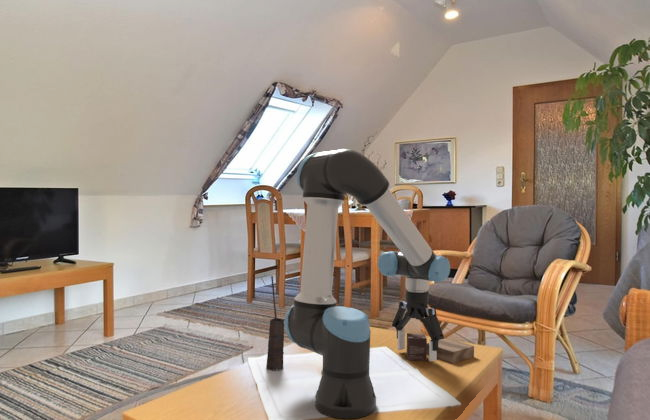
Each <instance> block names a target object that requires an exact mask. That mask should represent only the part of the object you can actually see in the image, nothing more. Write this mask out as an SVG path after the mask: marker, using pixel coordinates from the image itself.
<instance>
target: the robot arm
mask: <svg viewBox="0 0 650 420" xmlns="http://www.w3.org/2000/svg"><path fill="white" fill-rule="evenodd" d="M296 182H297V186H299V188H300V190H301V191H302V200H303V201H304V203H306V206H307V207H306V221H305V232H304V242H303V243H304V245H303V255H302V256H303V258H302V269H301V282H300V292H299V293H298V294H297V295H296V296H295V297H294V298H293V301H294V302H293V304H292V305H291V306H290V307H289V309H288V310H287V311H286V314H285V317H284V319H285V321H284V332H285V333H286V336H287V337H288V339H290V341H291V342H292V343H293V344H295V345H297V346H298V347H300V348H302V349H305V350H308V351H311V352H313V353H315V354H318V355H320V356H322V375H321V378H320V381H319V384H318V388H317V390H316V393H315V398H314V399H315V401H314V402H315V403H314V404H315V408H316V409H317V410H318V411H319V412H320V413H321V414H324V415H326V416H329V417H331V418H337V419H351V420H352V419H358V418H363V417H366V416H369V415H371V414H373V413H374V412H375V411H376V408H377V397H376V393H375V390H374V386H373V383H372V379H371V376H370V361H371V360H370V356H371V355H370V354H371V352H370V351H371V332H372V331H371V328H370V326H371V325H370V319H369V317H368V315H367V314H366V313H365V312H363V311H361V310H359V309H356V308H355V307H347V306H343V305H342V306H337V303H338V301H337V299H335V297H334V296H333V279H334V268H335V254H336V242H337V229H338V216H339V207H341V206H342V205H343V204H344V203H345V199H346V198H345V197H346V194H347V195H348V196H351V197H353V198H354V199H355V201H356V202H357V203H358V204H359V205H360V206H365V208H367V209H368V210H369V212H370V213H371V214H372V216H373V217H374V219H375V220H376V222H377V223H378V225H380V227H381V228H382V229H383V230H384V232H385V233H386V234H387V236H388V237H389V238H390V239H391V241H392V242H393V244H394V245H395V246H396V247H397V249H398V250H393V251H392V250H390V251H386V252H383V253H381V254H380V255H379V257H378V260H377V268H378V270H379V272H380V274H382V275H383V276H385V277H394V276H400V277H405V289H406V291H405V300H404V301H400V302H399V303H398V308H397V311H396V314H395V316H394V319H393V321H392V324H391V326H392V327H393V328H395V330H396V339H397V350H398V351H403V350H405V348H406V330H405V326H406V325H407V324H408V323H409V322H410V320H411V319H415V320H418V321H420V323H421V324H422V325H423V327H424V328H425V330H426V332H427V333H428V335H429V338H430V340H429V342H428V343H429V355H428V361H429V362H434V361H436V360H437V359H438V358H437V350H438V341H439V340H442V339H445V336H444V333H443V331H442V327H441V325H440V322H439V318H438V316H437V309H436V308H435V307H431V308H430V307H428V305H429V304H428V303H430V302H429V300H430V293H429V290H430V282H432V283H433V282H438V283H442V282H444V281H446V280H447V278H448V277H449V275H450V273H451V264H450V263H451V262H450V261H449V259H448V258H447V257H445V256H443V255H440V254H438V255H437V254H436V253H435V252H434V250H433V249H432V248H431V246H430V245H429V244H428V242H427V241H426V240H425V238H424V236H423V235H422V234H421V232H420V231H419V229H418V228H417V227H416V225H415V224H414V222H413V221H412V219H411V218H410V217H409V215H408V214H407V212H406V211H405V210H404V208H403V206H402V205H401V203H400V202H399V201H398V199H397V198H396V197H395V196H394V194H393V193H392V191H391V189H390V181H388V179H387V177H386V176H385V175H384V173H383V172H382V170H380V168H379V167H378V166H377V165H376V164H375V163H374V162H372V160H370V159H369V158H368V157H366V155H364V154H362V153H360V152H359V151H356V150H354V149H349V148H341V149H336V150H329V151H328V150H327V151H318V152H315V153H312V154H309V155H308V156H306V157H304V159H302V160H301V162H300V164H299V165H298V167H297V171H296Z"/></svg>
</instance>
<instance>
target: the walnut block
mask: <svg viewBox="0 0 650 420" xmlns="http://www.w3.org/2000/svg"><path fill="white" fill-rule="evenodd" d="M427 356H429V342H427ZM474 357H475V346H474V345H472V344H468V343H465V342H462V341H458V340H455V339H452V338H448V337H447V338H444V339H441V340H439V341H438V350H437V359H439V360H443V361H445V362H446V363H447V362H448V363H452V364H455V363H459V362H462V361H465V360H468V359H471V358H474Z"/></svg>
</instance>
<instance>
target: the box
mask: <svg viewBox="0 0 650 420" xmlns="http://www.w3.org/2000/svg"><path fill="white" fill-rule="evenodd" d="M427 343H428V338H427V336H426V334H425V333H415V332H414V333H411V332H410V333H409V332H406V357H407V360H408V361H423V362H424V361H428V360H427V359H428V358H427V357H428V355H427Z"/></svg>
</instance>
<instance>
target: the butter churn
mask: <svg viewBox="0 0 650 420" xmlns="http://www.w3.org/2000/svg"><path fill="white" fill-rule="evenodd" d="M270 279H271V286H272V287H271V288H272V298H273V301H272V302H273V310H274V311H273V312H274V317H273V318H272V319H271V318H270V320H269V321H270V322H269V329H268V330H269V331H268V332H269V333H268V340H267V341H268V344H267V357H266V366H265V367H266V369H267V370H269V371H280V370H282V369H284V353H285V352H284V346H285V345H284V343H285V324H284V322H285V318H284V319H282V318H278V316H277V307H276V299H275V297H276V296H275V287H274V286H275V285H274V277H273V275H271V278H270Z"/></svg>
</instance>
